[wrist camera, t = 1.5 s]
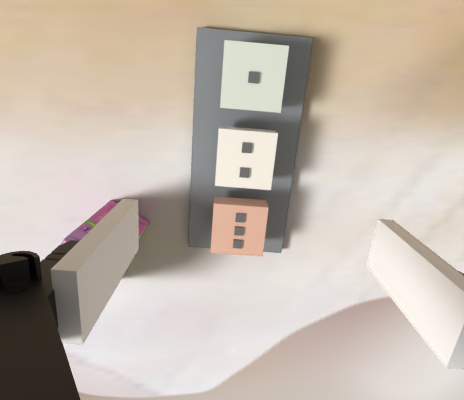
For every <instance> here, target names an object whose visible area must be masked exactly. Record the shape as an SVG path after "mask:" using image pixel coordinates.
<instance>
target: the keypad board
mask: <svg viewBox="0 0 464 400" xmlns="http://www.w3.org/2000/svg"><path fill="white" fill-rule="evenodd" d="M224 40H231V41H242V42H253V43H264V44H275V45H286V46H289V51H288V59H287V67H286V75H285V83H284V91H283V98H282V106H281V113H277V112H265V111H253V110H241V109H229V108H220V100H221V85H222V69H223V54H224ZM312 42H313V38H309V37H298V36H287V35H276V34H265V33H255V32H244V31H233V30H222V29H211V28H200V27H197V36H196V62H195V87H194V112H193V137H192V162H191V188H190V213H189V238H188V246H189V247H203V248H211V237H212V221H213V206H214V198H215V196H217V197H230V198H244V199H257V200H266V201H267V204H268V207H269V209H268V217H267V225H266V233H265V241H264V248H263V252H275V253H281V251H282V245H283V238H284V231H285V224H286V218H287V211H288V204H289V197H290V191H291V184H292V177H293V170H294V164H295V157H296V150H297V143H298V136H299V130H300V123H301V116H302V109H303V103H304V96H305V89H306V82H307V76H308V69H309V62H310V55H311V49H312ZM219 126H226V127H238V128H250V129H262V130H275V131H276V132H277V133H278V138H277V146H276V154H275V162H274V170H273V177H272V185H271V190H262V189H249V188H236V187H223V186H215V176H216V161H217V145H218V130H219Z"/></svg>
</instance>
